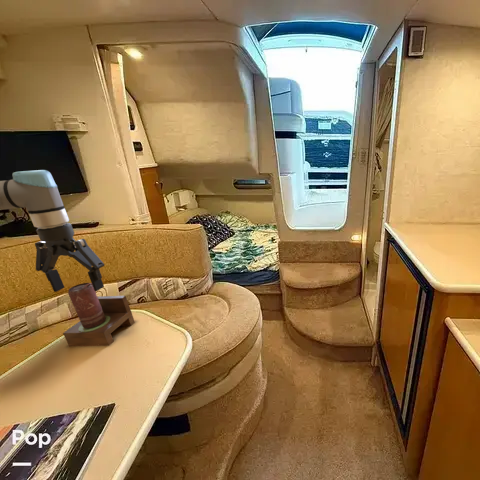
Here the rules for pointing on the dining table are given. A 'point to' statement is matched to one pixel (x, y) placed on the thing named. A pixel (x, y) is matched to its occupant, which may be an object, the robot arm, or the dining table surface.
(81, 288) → the can
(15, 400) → the dining table surface
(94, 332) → the green-ringed wooden stand
